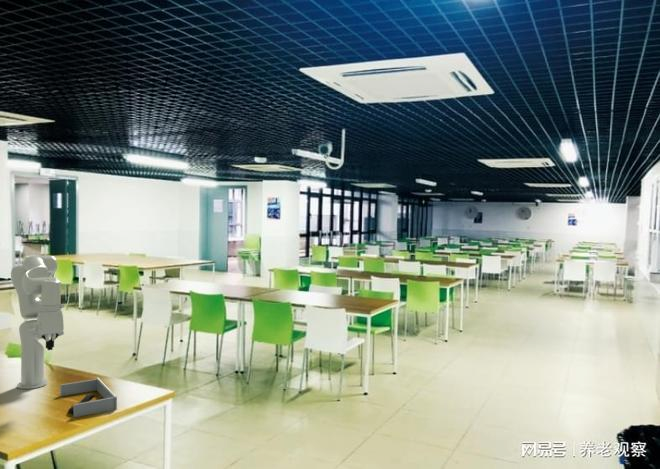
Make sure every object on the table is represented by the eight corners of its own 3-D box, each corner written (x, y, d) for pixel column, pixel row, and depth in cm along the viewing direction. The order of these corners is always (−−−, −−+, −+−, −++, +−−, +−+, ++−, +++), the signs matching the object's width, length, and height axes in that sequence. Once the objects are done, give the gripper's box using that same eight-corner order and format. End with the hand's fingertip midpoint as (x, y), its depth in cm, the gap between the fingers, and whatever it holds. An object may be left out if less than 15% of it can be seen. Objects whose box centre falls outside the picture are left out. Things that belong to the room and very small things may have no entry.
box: (60, 395, 230) (60, 383, 230) (98, 389, 240) (98, 377, 239) (74, 417, 204) (74, 403, 204) (116, 409, 214) (116, 395, 214)
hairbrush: (101, 389, 232) (86, 405, 207) (101, 397, 232) (86, 414, 207) (82, 390, 230) (64, 406, 206) (82, 398, 230) (64, 415, 206)
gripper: (67, 305, 228) (66, 345, 229) (29, 308, 218) (28, 349, 219) (71, 308, 222) (70, 349, 223) (32, 311, 213) (31, 353, 213)
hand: (49, 349), depth 221 cm, fingers closed
